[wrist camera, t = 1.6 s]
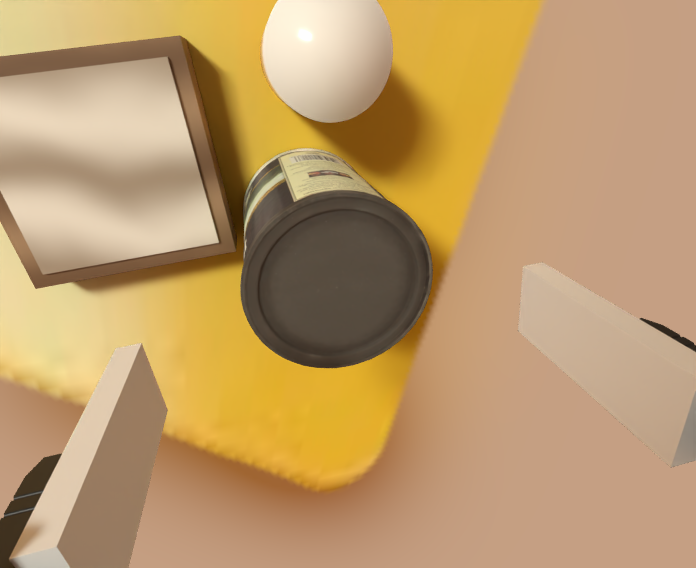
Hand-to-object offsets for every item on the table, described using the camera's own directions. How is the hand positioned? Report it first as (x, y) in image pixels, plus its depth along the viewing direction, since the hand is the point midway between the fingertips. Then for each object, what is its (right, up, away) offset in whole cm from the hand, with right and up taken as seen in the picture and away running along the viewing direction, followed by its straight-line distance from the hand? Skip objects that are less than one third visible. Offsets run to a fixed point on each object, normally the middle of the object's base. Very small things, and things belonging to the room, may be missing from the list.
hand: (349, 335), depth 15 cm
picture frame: (-17, +10, +15) cm, 25 cm away
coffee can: (-3, +8, +20) cm, 22 cm away
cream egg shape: (-3, +18, +15) cm, 23 cm away
